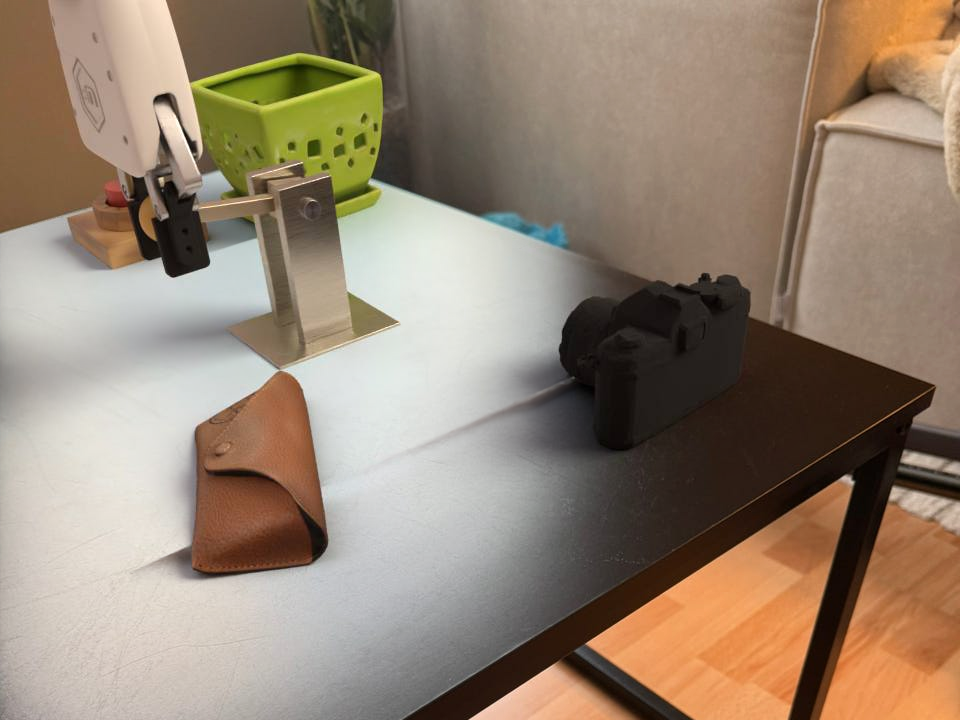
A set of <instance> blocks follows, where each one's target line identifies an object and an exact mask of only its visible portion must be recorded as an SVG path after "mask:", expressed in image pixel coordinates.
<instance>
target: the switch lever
mask: <svg viewBox="0 0 960 720" xmlns="http://www.w3.org/2000/svg"><path fill="white" fill-rule="evenodd" d="M298 179H302V178H301V177H294V178H287V179H279V180H272V181H267V189H268V194H261V195H254V196H247V197H239V198H232V199H225V200H222V199H218V200H211V201H204V202H199V210H198V211H199V215H200V219H201V223H202V222H206V223H208V222H215V221H221V220H228V219H235V218H243V217H242V216H249V215H255V214H262V213H269V214H270V215H271V216H273V217H274V218H276V219H277V215H276V210H275V204H274V198H273V193H272V187H274V186H277V185H281V184H284V183H288V182H291V181H295V180H298ZM154 217H156V214H155V212H154V209H153V205H152V202H151V199H150V196H148V197H147V198H146V199H145V200H144V201H143V202H142V204H141V206H140V210H139V220H140V224H141V227H142V229H143V230H144V232H145V233H146V234H147V235H148V236H149V237H150V238H152V239H153V240H155V241H157V240H156V236H155V232H154V228H153V225H152V221H151V218H154Z"/></svg>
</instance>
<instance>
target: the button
mask: <svg viewBox="0 0 960 720" xmlns="http://www.w3.org/2000/svg"><path fill="white" fill-rule="evenodd" d="M103 189H104V193H106V196H107V199H108V203H109V206H110V207H117V208H124V207H127V203H128V202H131V201H134V199H132V200H129V201H128V200H127V199H126V198H125V197H124V194H123V192H122V189H121V185H120V181H119V178H116V179H113V180H110V181H108V182H107V183H105V184H104V187H103Z"/></svg>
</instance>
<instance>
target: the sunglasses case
mask: <svg viewBox="0 0 960 720" xmlns="http://www.w3.org/2000/svg"><path fill="white" fill-rule="evenodd" d="M309 414H310V413H309V410H308V406H307V401H306V397H305V394H304V389H303V388H302V386H301V384H300V382H299V381H298V379H297V378H295V376H293V375H292V374H291V373H289V372H287V371H284V370H278V371H276V372H275V373H274V374H273V375H272V376H271V377H270V378H269V379H268V380H267V381H266V382H265V383H263V385H261V387H260V388H259V389H257V390H255V391H253V392H252V393H250V394H249V395H247V396H244V397H243V398H242V399H240V400H238V401H236V402H234V403H233V404H231V405H230V406H228V407H226V408H224V409H223V410H221V411H220V412H218V413H216V414H214V415H213V416H211V417H209V418H208V419H206V420H204V421H202V422H201V423H199V424H198V425H197V426H196V427H195V430H194V441H195V450H196V485H195V486H196V493H195V498H196V499H195V516H194V517H195V518H194V526H193V536H192V543H191V555H190V556H191V557H190V558H191V569H192V570H193V571H196V572H198V573H201V574H208V575H209V574H210V575H211V574H239V573H240V574H241V573H254V572H263V571H269V570H278V569H279V570H280V569H286V568H294V567H301V566H308V565H311V564H313V563H315V562H316V561H318V560H319V559H320V558H321V557H322V556H323V555H324V554H325V553H326V551H327V549H328V547H329V534H328V528H327V520H326V519H327V518H326V511H325V506H324V499H323V494H322V488H321V481H320V476H319V469H318V462H317V459H316V452H315V445H314V438H313V434H312V427H311V421H310V415H309Z"/></svg>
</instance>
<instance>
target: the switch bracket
mask: <svg viewBox="0 0 960 720" xmlns="http://www.w3.org/2000/svg"><path fill="white" fill-rule="evenodd" d="M245 176H246V181H247V186H248V191H249V196H254V195H261V194H268V189H267V181H272V180H279V179H287V178H294V177H301V178H302V179H298V180H295V181H291V182H288V183H284V184H281V185H277V186H274V187H272V193H273V198H274V204H275V210H276V215H277V219H276V218H274V217H273V216H271V215H270V214H269V213H262V214H255V215H253V217H254V222H255V223H254V227H255V232H256V237H257V242H258V247H259V253H260V257H261V263H262V268H263V275H264V278H265V284H266V288H267V295H268V299H269V303H270V309H271V311H269V312H267V313H264V314H261V315H259V316H256V317H253V318H250V319H247V320H244V321H241V322H238V323H234V324H232V325H229V326H227V327H225V329H226V331H228V333H230V334H231V335H232V336H234V337H235V338H237V339H238V340H240V342H242V343H243V344H245V345H246V346H248V347H249V348H250V349H252V350H253V351H255V352H256V353H257V354H259V355H260V356H261V357H263V358H264V359H265V360H266V361H268V362H270V363H271V364H272V365H274V366H275V367H276V368H278V369H279V371H283V370H284V369H287V368H290V367H293V366H295V365H298V364H301V363H303V362H306V361H309V360H311V359H314V358H317V357H319V356H322V355H324V354H328V353H330V352H332V351H335V350H338V349H341V348H343V347H347V346H349V345H351V344H354V343H357V342H359V341H362V340H365V339H368V338H370V337H373V336H375V335H379V334H381V333H383V332H386V331H388V330H392V329H394V328H397V327H399V326H401V322H400V321H399V320H397V319H396V318H394V317H392V316H390V315H388V314H387V313H385V312H384V311H382V310H380V309H379V308H377V307H375V306H373V305H371V304H370V303H368V302H366V301H365V300H363V299H361V298H360V297H358V296H356V295H355V294H353V293H352V292H350V291H348V286H347V279H346V271H345V265H344V257H343V250H342V244H341V243H342V242H341V236H340V229H339V221H338V219H337V214H336V206H335V199H334V192H333V185H332V177H331V175H330V174H327V173H325V172H323V173H319V174H316V175H312V176H309V177H305V172H304V165H303V162H302V161H299V160H297V159H295V160H292V161H288V162H284V163H281V164H277V165H274V166H270V167H266V168H263V169H259V170H256V171H252V172H248V173H246V174H245Z"/></svg>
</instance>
